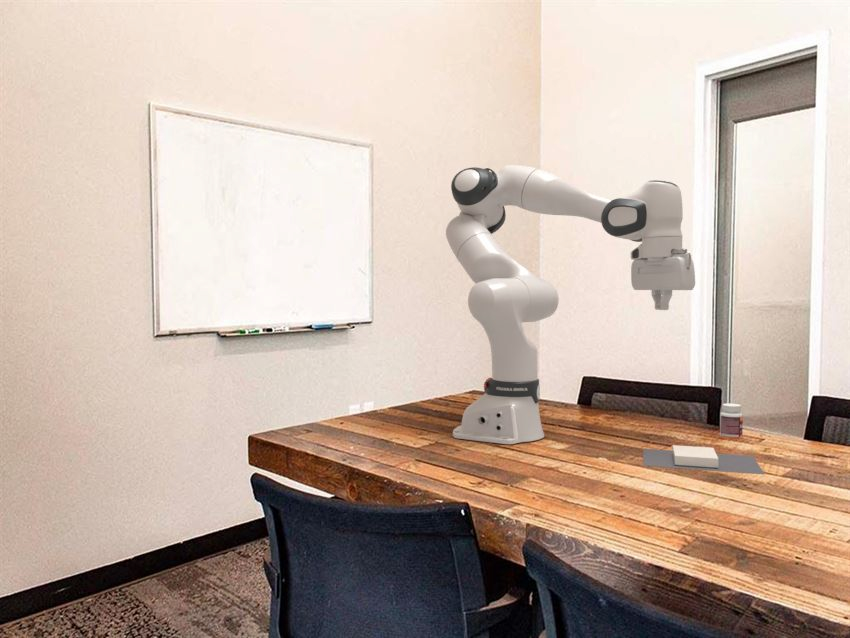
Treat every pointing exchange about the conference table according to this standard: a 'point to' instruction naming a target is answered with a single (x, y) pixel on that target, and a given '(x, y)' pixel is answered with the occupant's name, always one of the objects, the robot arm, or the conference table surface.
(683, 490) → the conference table surface
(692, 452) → the tile
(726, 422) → the pill bottle
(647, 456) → the mat
